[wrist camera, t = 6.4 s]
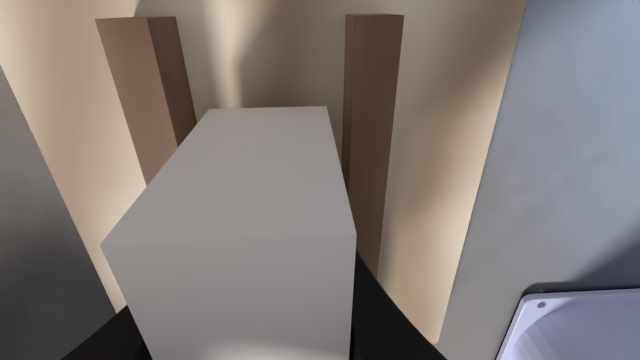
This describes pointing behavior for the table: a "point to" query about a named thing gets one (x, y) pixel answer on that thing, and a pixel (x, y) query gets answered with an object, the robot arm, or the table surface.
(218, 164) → the white box
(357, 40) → the display board
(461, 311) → the table surface
